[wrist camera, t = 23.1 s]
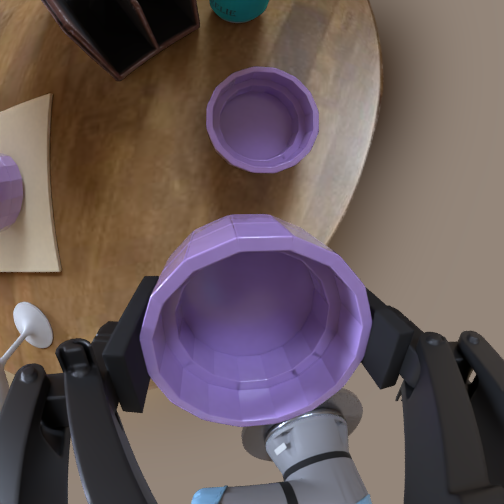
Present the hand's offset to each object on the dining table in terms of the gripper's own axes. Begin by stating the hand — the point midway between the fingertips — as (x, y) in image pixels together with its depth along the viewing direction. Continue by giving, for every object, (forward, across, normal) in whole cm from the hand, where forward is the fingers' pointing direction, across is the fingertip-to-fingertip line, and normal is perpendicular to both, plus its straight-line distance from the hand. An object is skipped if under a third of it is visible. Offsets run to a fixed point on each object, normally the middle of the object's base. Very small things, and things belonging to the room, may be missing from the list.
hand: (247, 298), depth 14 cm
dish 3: (0, 0, 0) cm, 0 cm away
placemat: (+14, -28, +7) cm, 32 cm away
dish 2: (+14, +2, +11) cm, 18 cm away
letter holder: (+14, -13, +27) cm, 33 cm away
